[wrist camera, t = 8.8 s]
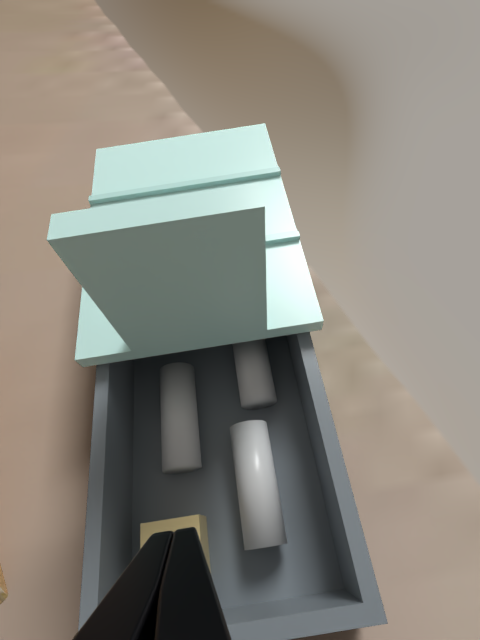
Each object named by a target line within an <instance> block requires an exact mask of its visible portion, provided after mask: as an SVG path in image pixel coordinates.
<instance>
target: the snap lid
mask: <svg viewBox="0 0 480 640" xmlns="http://www.w3.org/2000/svg"><path fill="white" fill-rule="evenodd" d="M280 175H281V171H280V168H279V167H278V165H277V162H276V159H275V156H274V152H273V149H272V145H271V142H270V139H269V135H268V132H267V128H266V125H265V124H258V125H251V126H245V127H238V128H232V129H226V130H218V131H212V132H206V133H199V134H192V135H186V136H179V137H173V138H166V139H160V140H153V141H147V142H140V143H134V144H127V145H121V146H114V147H108V148H101V149H96V158H95V168H94V178H93V187H92V196H89V200H88V201H89V203H90V205H91V207H90V208H89V209H83V210H76V211H70V212H63V213H57V214H51V220H50V225H49V231H48V236H47V241H48V242H49V244H50V245H51V246H52V248H53V249H54V250H55V252H56V253H57V254H58V256H59V257H60V258H61V259H62V261H63V262H64V263H65V265H66V266H67V267H68V269H69V270H70V271H71V273H72V274H73V275H74V276H75V278H76V279H77V280H78V282H79V283H80V284H81V286H82V294H81V304H80V313H79V323H78V333H77V342H76V352H75V361H76V362H77V363H79V364H80V365H81V366H82V367H87V366H94V365H100V364H107V363H113V362H119V361H126V360H132V359H138V358H145V357H151V356H157V355H164V354H170V353H177V352H183V351H189V350H196V349H202V348H208V347H215V346H221V345H228V344H234V343H240V342H247V341H253V340H259V339H266V338H272V337H278V336H285V335H291V334H298V333H304V332H310V331H317V330H322V326H323V322H324V320H323V317H322V314H321V310H320V307H319V304H318V300H317V297H316V293H315V290H314V287H313V283H312V280H311V277H310V273H309V270H308V266H307V263H306V260H305V256H304V253H303V250H302V247H301V243H300V234H299V231H298V230H297V229H296V226H295V223H294V220H293V216H292V213H291V209H290V206H289V203H288V199H287V196H286V192H285V189H284V186H283V182H282V179H281V176H280Z"/></svg>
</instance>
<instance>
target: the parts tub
mask: <svg viewBox="0 0 480 640" xmlns="http://www.w3.org/2000/svg"><path fill="white" fill-rule="evenodd" d="M189 527H195V528H196V530H197V532H198V536H199V539H200V542H201V545H202V548H203V551H204V554H205V558H206V561H207V564H208V567H209V570H210V573H211V576H212V579H213V583H214V586H215V589H216V592H217V595H218V598H219V601H220V605H221V608H222V611H223V614H224V617H225V620H226V623H227V626H228V630H229V633H230V636H231V639H232V640H289V639H295V638H301V637H307V636H314V635H320V634H326V633H332V632H338V631H344V630H351V629H357V628H363V627H369V626H375V625H381V624H388V623H387V619H386V615H385V611H384V608H383V604H382V600H381V597H380V593H379V589H378V585H377V582H376V578H375V574H374V571H373V567H372V563H371V559H370V556H369V552H368V548H367V544H366V541H365V537H364V533H363V530H362V526H361V522H360V518H359V515H358V511H357V507H356V504H355V500H354V496H353V492H352V489H351V485H350V481H349V477H348V474H347V470H346V466H345V463H344V459H343V455H342V451H341V448H340V444H339V440H338V437H337V433H336V429H335V425H334V422H333V418H332V414H331V410H330V407H329V403H328V399H327V396H326V392H325V388H324V384H323V381H322V377H321V373H320V370H319V366H318V362H317V358H316V355H315V351H314V347H313V343H312V340H311V336H310V332H304V333H298V334H291V335H285V336H278V337H272V338H266V339H259V340H253V341H247V342H240V343H234V344H228V345H221V346H215V347H208V348H202V349H196V350H189V351H183V352H177V353H170V354H164V355H157V356H151V357H145V358H138V359H132V360H126V361H119V362H113V363H107V364H100V365H97V367H96V381H95V396H94V410H93V425H92V439H91V454H90V468H89V483H88V497H87V512H86V526H85V541H84V555H83V570H82V584H81V599H80V613H79V628H78V631H79V630H80V629H81V627H82V626H83V625H84V623H85V622H86V621H87V619H88V618H89V617H90V615H91V614H92V613H93V611H94V610H95V609H96V607H97V606H98V605H99V603H100V602H101V601H102V600H103V598H104V597H105V596H106V594H107V593H108V592H109V590H110V589H111V588H112V586H113V585H114V584H115V582H116V581H117V580H118V578H119V577H120V576H121V574H122V573H123V572H124V570H125V569H126V568H127V566H128V565H129V564H130V562H131V561H132V560H133V558H134V557H135V556H136V554H137V553H138V552H139V550H140V549H141V548H142V546H143V545H144V544H145V542H146V541H147V540H148V538H149V537H150V536H151V535H152V534H154V533H158V532H164V531H173V532H175V531H176V530H177V529H182V528H189Z"/></svg>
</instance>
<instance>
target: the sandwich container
mask: <svg viewBox="0 0 480 640" xmlns="http://www.w3.org/2000/svg"><path fill="white" fill-rule="evenodd" d="M7 596H8V592H7V588H6V584H5V580H4V576H3V572H2V569H1V565H0V604H1V603H2V602H3V601H4V600H5V599H6V598H7Z"/></svg>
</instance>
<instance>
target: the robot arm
mask: <svg viewBox="0 0 480 640" xmlns="http://www.w3.org/2000/svg"><path fill="white" fill-rule="evenodd" d="M72 640H232V639H231V636H230V633H229V630H228V626H227V623H226V620H225V617H224V614H223V611H222V608H221V605H220V601H219V598H218V595H217V592H216V589H215V586H214V583H213V579H212V576H211V573H210V570H209V567H208V564H207V561H206V558H205V554H204V551H203V548H202V545H201V542H200V539H199V536H198V532H197V530H196V528H195V527H189V528H182V529H177V530H176V531H175V532H173V531H164V532H158V533H154V534H152V535H151V536H150V537H149V538H148V540H147V541H146V542H145V544H144V545H143V546H142V548H141V549H140V550H139V552H138V553H137V554H136V556H135V557H134V558H133V560H132V561H131V562H130V564H129V565H128V566H127V568H126V569H125V570H124V572H123V573H122V574H121V576H120V577H119V578H118V580H117V581H116V582H115V584H114V585H113V586H112V588H111V589H110V590H109V592H108V593H107V594H106V596H105V597H104V598H103V600H102V601H101V602H100V603H99V605H98V606H97V607H96V609H95V610H94V611H93V613H92V614H91V615H90V617H89V618H88V619H87V621H86V622H85V623H84V625H83V626H82V627H81V629H80V630H79V631H78V633H77V634H76V635H75V637H74V638H73V639H72Z"/></svg>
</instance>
